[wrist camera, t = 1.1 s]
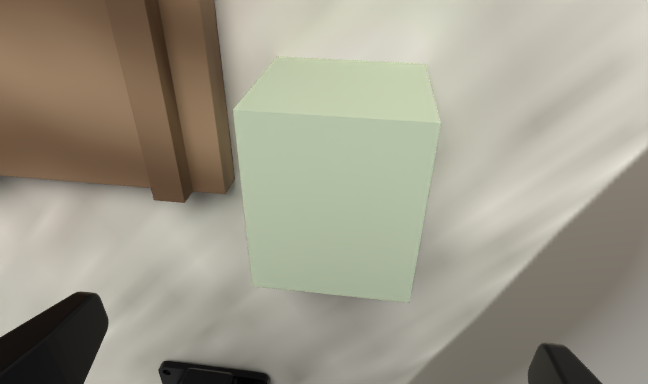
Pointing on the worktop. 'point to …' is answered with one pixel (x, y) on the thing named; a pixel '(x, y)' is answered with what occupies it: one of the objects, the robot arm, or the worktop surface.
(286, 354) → the worktop surface
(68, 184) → the worktop surface
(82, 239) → the worktop surface
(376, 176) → the block
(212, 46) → the channel board
